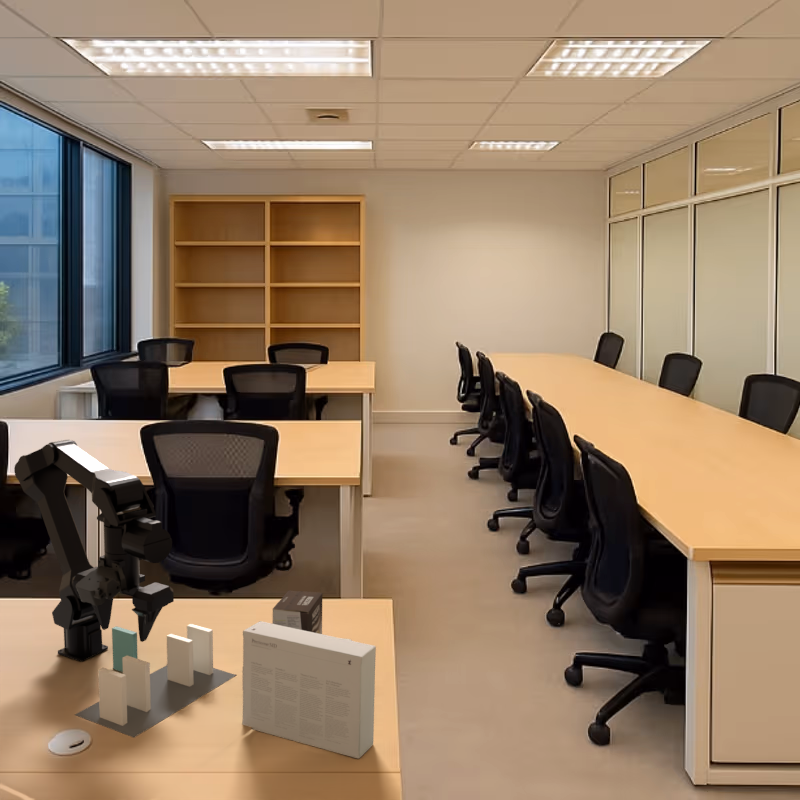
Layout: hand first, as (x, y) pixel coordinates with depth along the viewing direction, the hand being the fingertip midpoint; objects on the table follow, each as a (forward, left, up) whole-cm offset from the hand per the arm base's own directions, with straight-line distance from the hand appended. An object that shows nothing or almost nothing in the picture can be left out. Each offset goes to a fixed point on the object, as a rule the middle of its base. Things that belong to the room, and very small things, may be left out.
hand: (124, 634), depth 155 cm
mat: (+11, -3, -7) cm, 14 cm away
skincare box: (+39, 0, -7) cm, 40 cm away
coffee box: (+29, +11, -7) cm, 32 cm away
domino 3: (+11, +2, -7) cm, 13 cm away
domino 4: (+11, +7, -7) cm, 15 cm away
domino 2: (+11, -8, -7) cm, 15 cm away
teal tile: (0, 0, -7) cm, 7 cm away
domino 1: (+11, -13, -7) cm, 18 cm away
